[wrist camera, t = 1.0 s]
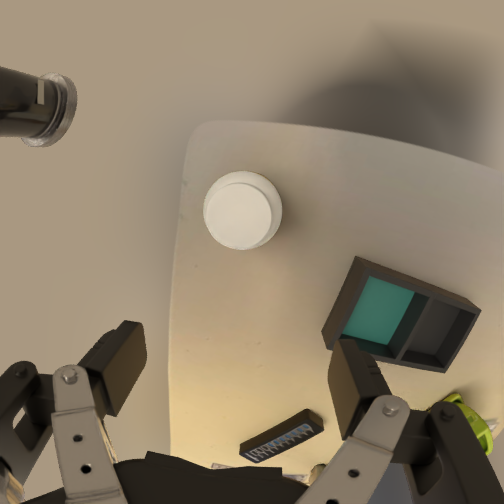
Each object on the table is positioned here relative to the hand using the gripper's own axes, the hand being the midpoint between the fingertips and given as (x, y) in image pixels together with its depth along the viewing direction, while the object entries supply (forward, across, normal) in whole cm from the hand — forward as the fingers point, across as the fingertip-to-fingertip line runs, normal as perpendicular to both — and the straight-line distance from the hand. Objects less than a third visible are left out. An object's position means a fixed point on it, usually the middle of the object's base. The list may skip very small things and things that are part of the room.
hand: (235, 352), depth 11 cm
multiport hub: (+22, -6, +32) cm, 39 cm away
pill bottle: (+22, +1, -4) cm, 22 cm away
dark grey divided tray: (+22, -20, +9) cm, 31 cm away
